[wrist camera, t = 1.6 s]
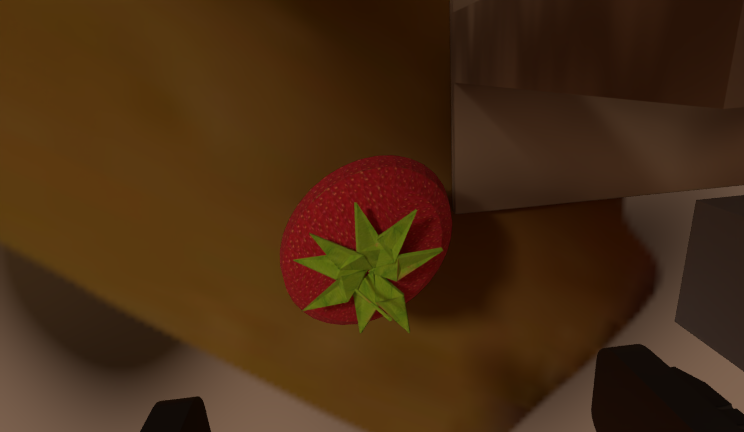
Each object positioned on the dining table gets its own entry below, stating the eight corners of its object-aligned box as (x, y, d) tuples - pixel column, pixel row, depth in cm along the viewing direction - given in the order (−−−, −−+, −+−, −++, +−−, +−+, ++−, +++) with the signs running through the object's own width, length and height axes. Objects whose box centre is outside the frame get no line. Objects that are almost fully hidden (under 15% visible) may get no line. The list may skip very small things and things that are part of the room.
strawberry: (448, 190, 23) (534, 275, 13) (345, 285, 24) (357, 427, 14) (369, 106, 21) (403, 136, 11) (262, 213, 22) (214, 321, 13)
